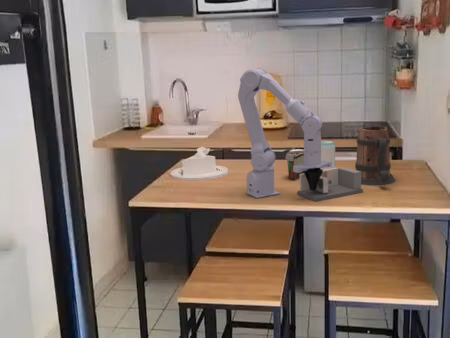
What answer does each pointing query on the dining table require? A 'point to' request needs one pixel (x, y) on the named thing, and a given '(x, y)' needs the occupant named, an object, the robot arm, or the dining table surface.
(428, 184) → the dining table surface
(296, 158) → the food container
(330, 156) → the can
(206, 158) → the dish
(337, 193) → the base
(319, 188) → the grey rectangular block
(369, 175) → the tankard
